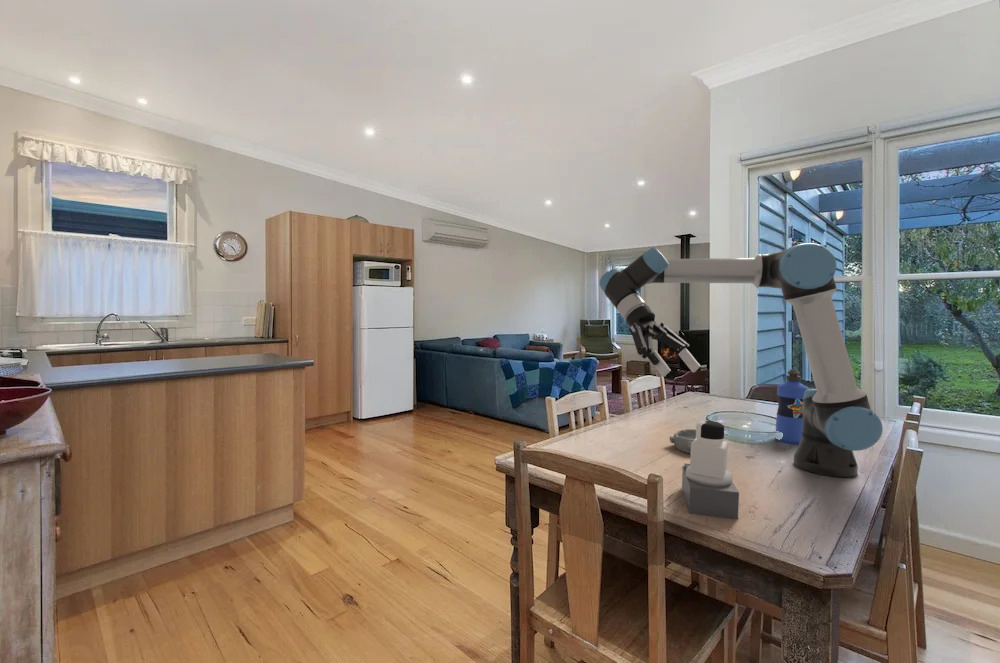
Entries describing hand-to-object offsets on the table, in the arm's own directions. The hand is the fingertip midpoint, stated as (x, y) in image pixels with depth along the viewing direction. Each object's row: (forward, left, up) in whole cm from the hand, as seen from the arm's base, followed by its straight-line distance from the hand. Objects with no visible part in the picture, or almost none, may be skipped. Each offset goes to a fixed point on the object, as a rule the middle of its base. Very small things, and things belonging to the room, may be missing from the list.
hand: (682, 371), depth 119 cm
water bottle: (-42, -51, -30) cm, 73 cm away
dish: (-8, -31, -30) cm, 44 cm away
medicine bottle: (-5, +12, -22) cm, 26 cm away
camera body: (-5, +12, -30) cm, 32 cm away
